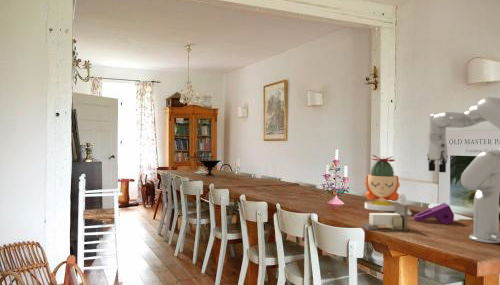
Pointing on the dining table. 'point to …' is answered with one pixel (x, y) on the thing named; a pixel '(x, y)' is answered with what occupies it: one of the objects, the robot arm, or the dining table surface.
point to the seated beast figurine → (402, 201)
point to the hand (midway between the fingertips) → (436, 171)
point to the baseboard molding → (460, 217)
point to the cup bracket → (399, 222)
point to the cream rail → (382, 218)
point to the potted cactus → (382, 186)
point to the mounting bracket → (437, 214)
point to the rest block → (369, 226)
